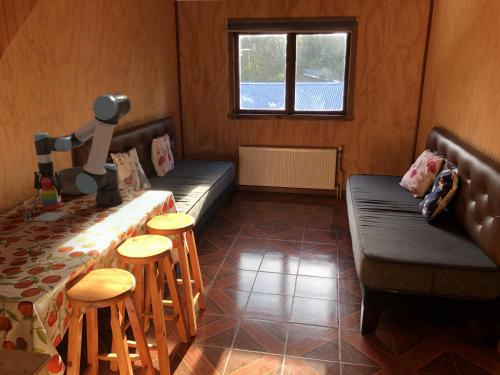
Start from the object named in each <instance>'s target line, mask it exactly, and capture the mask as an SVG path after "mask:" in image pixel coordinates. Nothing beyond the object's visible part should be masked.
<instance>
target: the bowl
mask: <svg viewBox="0 0 500 375" xmlns="http://www.w3.org/2000/svg"><path fill="white" fill-rule="evenodd" d="M82 170H83V166H73V167H67V168H63V169H60V170H58V171H59V174H60V178H61V181H62V183H63V186H64V188H63V189H61V192H62V193H64V194H67V195H69V196H82V195H84V194H85V193H83V192H81V191H80V190H79V188H78V187H77V185H76V178H77V176H78V175H79V174H81V173H82Z"/></svg>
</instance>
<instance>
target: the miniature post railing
mask: <svg viewBox="0 0 500 375" xmlns="http://www.w3.org/2000/svg"><path fill="white" fill-rule="evenodd" d="M36 199H37V197H36V196H32V198H29V199H27V200H24V201H23V204H24V205H23V206H24V209H25V210H24V211H25V214H24V215H23V218H24V219H23V221H24V222H31V221H32V220H33V217H32V214H39V213H40V212H41V210H40V209H38V207H37V200H36ZM32 201H33V205H34V210H33V211H32V214H31V213H29V210H28V209H29V208H28V206H29V205H28V203H30V202H32Z"/></svg>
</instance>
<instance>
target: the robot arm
mask: <svg viewBox="0 0 500 375" xmlns="http://www.w3.org/2000/svg"><path fill="white" fill-rule="evenodd" d="M131 109H132V102H131V99H130V98H129V97H128V96H127V95H126V94H123V93H120V92H119V93H118V92H117V93H113V94H111V93H108V94H107V93H106V94H102V95H99V96H97V97H96V98H95V99H94V101H93V104H92V111H93V114H94V116H93V117H92V118H90V119H89V120H87V122H85V123H84V124H82V125H81V126H79V127H78V128H77V129H76V130H74V131H73V132H71V133H70V134H67V135H62V136H58V137H57V136H54V137H52V136H50V134H49V133H48V132H38V133H34V135H33V143H34V149H35V154H36V162H37V168H38V170H36V171H34V172H33V174H34V182H33V188H34V189H36V190H37V192H38V195H39V199H40V201H41V197H40V194H41V188H42V187H43V185H42V183H41V180H42V178H43V177H48V178H49V179H50V180H51V181H52V183H53V185H54V186H55V188H56V198H57V202H62V197H61V196H62V190H61V189H63V188H64V186H63V183H62V181H61V178H60V174H59V171H60V170H58V171H55V170H54V161H53V154H52V153H53V152H59V153H63V152H64V153H65V152H66V153H67V152H69V151H70V150H71V149H74V148H78V147H79V148H80V147H81V146H83V145H84V144H85V142H86V141H87V140H89V139H90V138H92V142H91V145H90V150H89V154H88V160H87V163H85V164H84V165H83V166H82V167H83V170H82V173H81V174H79V175H78V176H77V178H76V185H77V187H78V188H79V190H80V191H81V192H83V193H84V194H86V195H93V194H95V193H96V195H95V200H94V204H95V206H96V207H100V208H111V207H116V206H119V205H120V206H121V205H122V204H123V203H124V198H123V195H122V193H121V192H120V189H119V188H120V186H119V180H118V178H119V177H118V170H117V165H116V164H114V163H106V161H107V158H108V154H109V149H110V146H111V141H112V137H113V134H114V129H115V127H116V126H118V125H119V122H120V119H122V118H123V117H125V116H127V115H128V114H129V113H130V112H131ZM51 177H53V178H51Z"/></svg>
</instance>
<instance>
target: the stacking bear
mask: <svg viewBox="0 0 500 375" xmlns="http://www.w3.org/2000/svg"><path fill="white" fill-rule="evenodd" d="M51 178H53V177H51ZM41 183H42V185H43V186H42V188H41V194H40V195H39V198H40V197H41V200H40V202H41V203H42V206H41V207H42V208H41V209H43V210H46V211H50V210H55V209H59V208H61V207H64V206H65V203H64V202H62V201H60V202H57V198H56V188H55V186H54V185H53V183H52V181H51V180H50V179H49V178H48V177H43V178H42V180H41Z"/></svg>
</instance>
